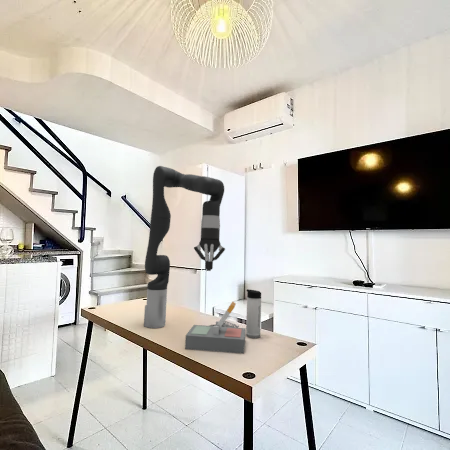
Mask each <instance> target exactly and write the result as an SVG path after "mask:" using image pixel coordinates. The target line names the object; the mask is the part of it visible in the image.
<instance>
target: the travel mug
mask: <svg viewBox="0 0 450 450" xmlns="http://www.w3.org/2000/svg"><path fill="white" fill-rule="evenodd" d="M246 293H247V294H246V295H247V296H246V322H245V324H246V325H245V326H246V327H245V328H246V332H245V337H247V338H250V339H259V338H261V328H262V327H261V325H262V323H261V321H262V319H261V318H262V292H261V291H259V290H254V289H247V288H246Z"/></svg>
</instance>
